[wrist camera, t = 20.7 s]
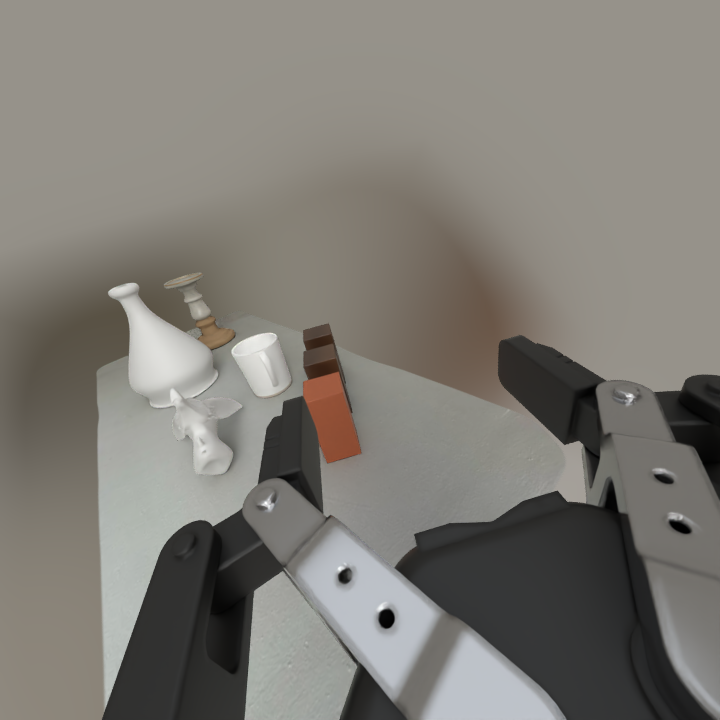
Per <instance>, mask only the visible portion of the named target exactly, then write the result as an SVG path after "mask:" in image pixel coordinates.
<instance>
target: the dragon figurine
mask: <svg viewBox="0 0 720 720" xmlns="http://www.w3.org/2000/svg"><path fill="white" fill-rule="evenodd" d="M170 400H171V403H172V404H174V406H175V407H176V408H177V409H176V414H175V415H174V417H173V422H172V431H173V434H174V436H175V438H176V440H177V439H179V440H182V439H184V438H185V437H186V435H188V436H189V437H190V438H191V439H192V441H193V465H194V470H195V472H196V473H197V474H199V475H221V474H224V473H225V472H226V471H227V470H228V468H229V466H230V463H231V461H232V458H233V451H232V450H231V449H230V448H229V447H228V446H227V445H226V444H225V443H223V442H222V441H221V440H220V439H219V438H218V436H217V420H219V419H225V418H227V417H229V416H231V415H232V414H233V413H235V412H236V411H237V410H239V409H240V408H241V407H243V406H242V405H241V404H240V403H238V402H237V401H235V400H233V399H229V398H224V397H214V398H208V399H205V400H197V399H194V398H186V399H184V397H183V396H182V395H181V394H180V393H179V392H178V391H177V390H176V389H171V390H170ZM177 441H178V440H177Z"/></svg>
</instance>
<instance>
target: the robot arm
mask: <svg viewBox="0 0 720 720" xmlns="http://www.w3.org/2000/svg"><path fill="white" fill-rule="evenodd" d="M498 376H499V379H500V382H501V384H502V385H503V386H504V388H505V389H506V390H507V391H508V392H509V393H510V394H512V395H513V396H514V397H515V398H516V399H517V400H518V401H519V402H520V403H521V404H522V405H523V406H524V407H525V408H526V409H527V410H528V411H529V412H530V413H532V414H533V415H534V416H535V417H536V418H537V419H538V420H539V421H540V422H541V423H542V424H543V425H544V426H545V427H546V428H547V429H548V430H550V431H551V432H552V433H553V434H554V435H555V436H556V437H557V438H558V439H559V440H560V441H561V442H562V443H563V444H564V445H566V444H569V443H573V442H576V441H580V442H581V443H582V444H583V447H582V460H583V469H584V479H585V488H586V504H585V503H578V502H567V501H566V500H565V499H564V498H563V497H562V495H561V494H560V493H559V492H558V491H555V492H551V493H548V494H545V495H541V496H538V497H535V498H532V499H528V500H525V501H522V502H521V503H519V504H518V505H516V506H515V507H513V508H512V509H510V510H509V511H508V512H506V513H505V514H503V515H502V516H500V517H499V518H497V519H496V520H494V521H491V522H476V523H449V524H446V525H443V526H439V527H436V528H433V529H429V530H426V531H423V532H420V533H416V534H414V536H415V540H416V545H417V546H416V547H415V548H413V549H412V550H410V551H409V552H408V553H407V554H406V555H405V556H404V557H403V558H402V559H401V560H400V561H399V562H398V563H397V565H396V566H395V568H394V567H393V566H391V565H390V564H389V563H388V562H387V561H386V560H385V559H383V558H382V557H381V556H380V555H379V554H378V553H376V552H375V551H374V550H373V549H372V548H371V547H369V546H368V545H367V544H366V543H365V542H364V541H362V540H361V539H360V538H359V537H358V536H357V535H356V534H354V533H353V532H352V531H351V530H350V529H349V528H347V527H346V526H345V525H344V524H343V523H342V522H340V521H339V520H338V519H337V518H335V517H334V516H332V515H330V516H329V517H326V516H324V515H323V500H322V484H321V469H320V453H319V439H318V433H317V429H316V426H315V423H314V421H313V418H312V416H311V413H310V411H309V408H308V406H307V403H306V401H305V399H304V397H303V396H301V397H297V398H293V399H290V400H286V401H284V402H283V411H282V415H281V416H277V417H274V418H273V419H272V421H271V422H270V424H269V425H268V427H267V430H266V436H265V442H264V450H263V455H262V461H261V468H260V474H259V481H258V485H257V486H256V487H255V488H253V489H252V490H251V492H250V493H249V494H248V496H247V497H246V499H245V501H244V504H243V508H242V509H241V510H239V511H238V512H237V513H235V514H233V515H232V516H230V517H228V518H227V519H225V520H223V521H222V522H220V523H218V524H217V525H215V526H212V525H211V524H210V523H209V522H207V521H204V520H199V521H194V522H191V523H189V524H187V525H185V526H183V527H182V528H181V529H179V530H178V531H177V532H176V533H174V534H173V535H172V536H171V538H170V539H169V540H168V541H167V542H166V544H165V545H164V547H163V549H162V550H161V552H160V555H159V557H158V560H157V563H156V566H155V569H154V572H153V575H152V577H151V580H150V583H149V586H148V589H147V592H146V595H145V598H144V600H143V603H142V606H141V609H140V612H139V615H138V618H137V620H136V623H135V626H134V629H133V632H132V635H131V638H130V641H129V643H128V646H127V649H126V652H125V655H124V658H123V661H122V663H121V666H120V669H119V672H118V675H117V678H116V681H115V684H114V686H113V689H112V692H111V695H110V698H109V701H108V704H107V706H106V709H105V712H104V715H103V718H102V720H244V719H245V705H246V691H247V678H248V664H249V651H250V637H251V623H252V610H253V596H254V590H256V589H257V588H259V587H260V586H261V585H263V584H264V583H266V582H267V581H269V580H270V579H272V578H273V577H274V576H276V575H277V574H279V573H280V572H282V571H283V572H284V573H285V575H286V576H287V577H288V578H289V580H290V581H291V582H292V583H293V585H294V586H295V587H296V589H297V590H298V591H299V592H300V594H301V595H302V596H303V597H304V599H305V600H306V601H307V603H308V604H309V605H310V606H311V608H312V609H313V610H314V612H315V613H316V614H317V615H318V617H319V618H320V619H321V621H322V622H323V623H324V625H325V626H326V627H327V629H328V630H329V631H330V633H331V634H332V635H333V636H334V638H335V639H336V640H337V642H338V643H339V644H340V645H341V647H342V648H343V649H344V651H345V652H346V653H347V654H348V656H349V657H350V658H351V660H352V661H353V662H354V663H355V665H356V666H357V669H356V672H355V675H354V678H353V681H352V684H351V687H350V690H349V693H348V696H347V699H346V702H345V705H344V708H343V711H342V713H341V716H340V719H339V720H720V376H717V375H696V376H692V377H689V378H687V379H686V380H685V383H684V385H683V387H682V390H681V391H667V392H653V391H652V390H650V389H649V388H647V387H645V386H643V385H640V384H637V383H634V382H630V381H623V380H611V381H606V380H604V379H603V378H601V377H599V376H598V375H596V374H594V373H593V372H591V371H589V370H588V369H586V368H585V367H583V366H581V365H580V364H578V363H576V362H573V360H571V359H569V358H568V357H566V356H563V354H561V353H560V352H558V351H557V350H555V349H553V348H551V347H548V346H545V345H541V344H538V343H537V344H535V343H533V342H532V341H530V340H529V339H527V338H525V337H524V336H522V335H519V336H516V337H512V338H509V339H505V340H502V341H501V342H500V343H499V357H498Z"/></svg>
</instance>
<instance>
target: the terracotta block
mask: <svg viewBox="0 0 720 720" xmlns="http://www.w3.org/2000/svg"><path fill="white" fill-rule="evenodd" d="M303 397H304V399H305V401H306V403H307V406H308V408H309V411H310V413H311V416H312V418H313V421H314V423H315V426H316V429H317V433H318V439H319V444H320V446H321V449H322V451H323V454H324V456H325V459H326V461H327V463H330V462H333V461H337V460H340V459H344V458H347V457H351V456H354V455H357V454H361V449H360V444H359V440H358V436H357V432H356V428H355V424H354V421H353V418H352V414H351V411H350V408H349V404H348V401H347V398H346V395H345V391H344V388H343V385H342V381H341V378H340V375H339V372H336V373H332V374H329V375H325V376H321V377H318V378H314V379H311V380H307V381H304V382H303Z"/></svg>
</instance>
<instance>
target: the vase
mask: <svg viewBox="0 0 720 720" xmlns="http://www.w3.org/2000/svg"><path fill="white" fill-rule="evenodd" d="M138 291H139V286H138V285H137V284H136V283H127V284H123V285H120V286H117V287H115V288H113V289H111V290H110V291H109V292H108V294H109V296H110V297H111V298H114V299H117V300H119V301H120V303H121V304H122V306H123V307H124V309H125V312H126V314H127V316H128V320H129V326H130V349H129V383H130V386H131V388H132V389H133V390H134V391H135V392H137V393H138V394H140V395H142V396H145V397H147V398H148V399H150V405H151V406H152V407H155V408H166V407H171V406H174V404H172V403H171V400H170V390H171V389H176V390H177V391H178V392H179V393H180V394H181V395H182V396H183V397H184V399H186V398H194V397H195V396H197V395H199V394H200V393H202V392H203V391H205V390H206V389H207V388H208V387H210V386H211V385H212V384H213V383H214V382H215V380H216V379H217V377H218V371H217V370H216V369H214V368H213V354H212V352H211V350H210V349H209V348H208V347H207V346H206V345H205V344H203V343H202V342H200V341H199V340H197V339H195V338H193V337H192V336H190V335H188V334H186V333H185V332H183V331H181V330H179V329H178V328H176V327H174V326H172V325H171V324H169V323H167V322H166V321H164V320H163V319H161V318H159V317H158V316H157V315H155V314H154V313H153V312H151V311H150V310H149V309H148V308H147V307H146V306H145V304H144V303H143V302H142V300H141V299H140V297H139V296H138Z"/></svg>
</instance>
